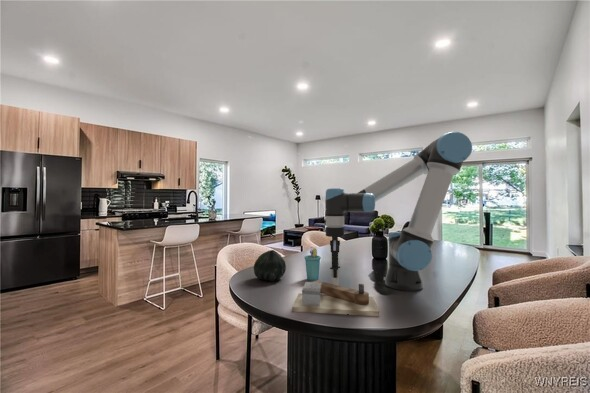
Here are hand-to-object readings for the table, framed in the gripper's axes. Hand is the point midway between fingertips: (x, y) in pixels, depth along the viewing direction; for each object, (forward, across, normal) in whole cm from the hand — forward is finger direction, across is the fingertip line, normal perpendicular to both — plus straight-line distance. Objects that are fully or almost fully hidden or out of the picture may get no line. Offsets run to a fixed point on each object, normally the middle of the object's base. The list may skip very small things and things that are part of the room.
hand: (335, 285), depth 112 cm
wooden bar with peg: (+1, +9, +1) cm, 9 cm away
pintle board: (+3, +15, 0) cm, 15 cm away
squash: (+3, -15, -31) cm, 35 cm away
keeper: (+2, +15, -8) cm, 17 cm away
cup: (+3, -17, -11) cm, 21 cm away
